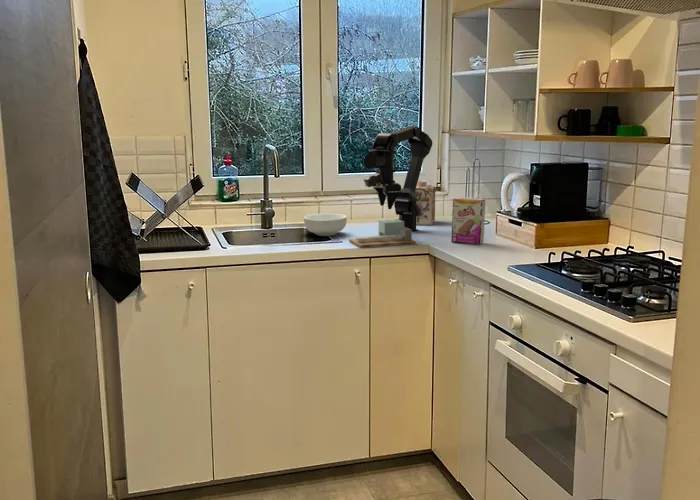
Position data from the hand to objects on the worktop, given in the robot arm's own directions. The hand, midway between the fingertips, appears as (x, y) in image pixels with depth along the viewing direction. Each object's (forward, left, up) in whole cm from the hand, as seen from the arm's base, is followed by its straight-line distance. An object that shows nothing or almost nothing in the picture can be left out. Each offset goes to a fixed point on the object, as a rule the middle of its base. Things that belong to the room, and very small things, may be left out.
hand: (385, 207), depth 276 cm
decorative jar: (-25, -24, -11) cm, 36 cm away
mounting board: (+6, +13, -11) cm, 18 cm away
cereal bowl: (+21, -11, -11) cm, 26 cm away
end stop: (-3, +13, -11) cm, 18 cm away
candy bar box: (-24, +22, -11) cm, 35 cm away
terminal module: (-2, +1, -11) cm, 11 cm away
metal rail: (+6, +13, -11) cm, 18 cm away
